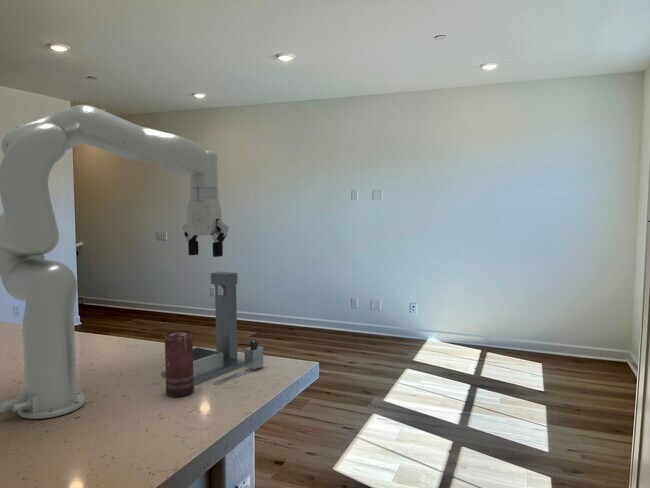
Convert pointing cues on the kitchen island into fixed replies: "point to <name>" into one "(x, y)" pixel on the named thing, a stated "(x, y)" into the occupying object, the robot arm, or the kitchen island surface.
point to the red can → (179, 363)
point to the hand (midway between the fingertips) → (205, 255)
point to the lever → (253, 355)
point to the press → (220, 335)
